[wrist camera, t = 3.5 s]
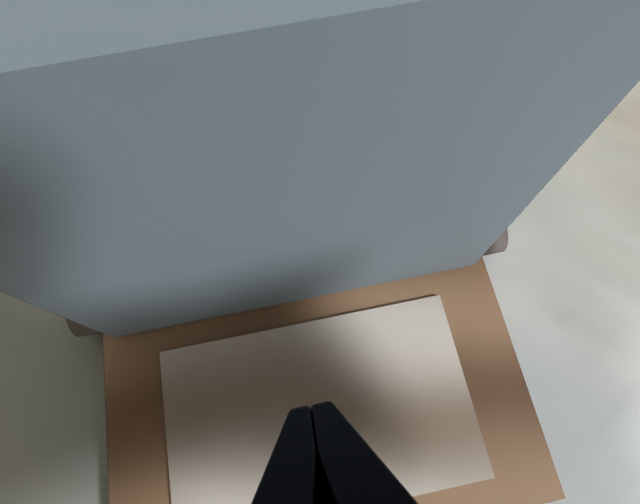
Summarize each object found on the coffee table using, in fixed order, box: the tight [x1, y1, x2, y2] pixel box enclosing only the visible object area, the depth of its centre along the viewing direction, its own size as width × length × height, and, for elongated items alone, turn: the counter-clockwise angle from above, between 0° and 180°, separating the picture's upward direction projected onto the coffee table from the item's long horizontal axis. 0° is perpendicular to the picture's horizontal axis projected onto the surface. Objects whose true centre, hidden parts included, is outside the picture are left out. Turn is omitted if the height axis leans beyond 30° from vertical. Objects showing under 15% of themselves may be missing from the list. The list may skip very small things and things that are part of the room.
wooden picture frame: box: [66, 229, 565, 504], centre depth 16 cm, size 10×16×2 cm, turn 101°
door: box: [0, 0, 640, 338], centre depth 11 cm, size 2×13×12 cm, turn 101°
